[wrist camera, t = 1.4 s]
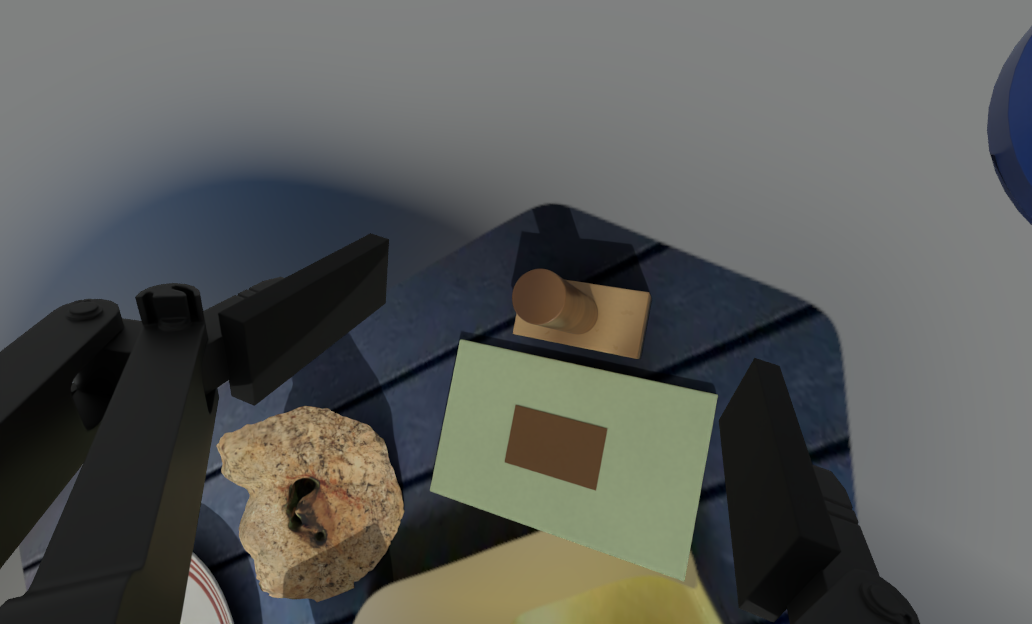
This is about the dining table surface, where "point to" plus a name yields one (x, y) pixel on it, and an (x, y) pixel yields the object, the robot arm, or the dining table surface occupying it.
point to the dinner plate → (204, 597)
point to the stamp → (581, 313)
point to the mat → (577, 452)
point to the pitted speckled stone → (313, 500)
